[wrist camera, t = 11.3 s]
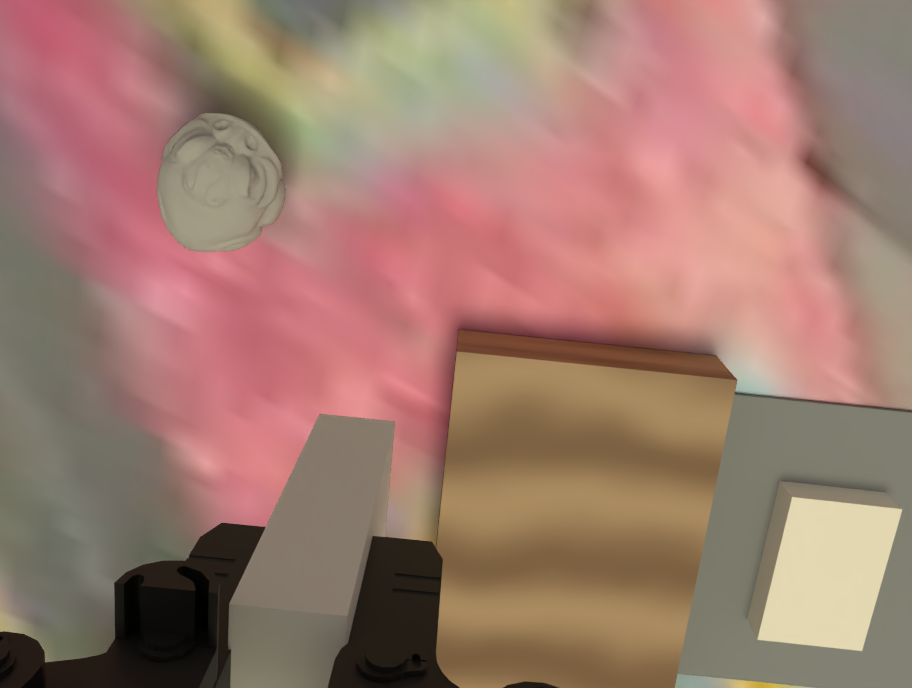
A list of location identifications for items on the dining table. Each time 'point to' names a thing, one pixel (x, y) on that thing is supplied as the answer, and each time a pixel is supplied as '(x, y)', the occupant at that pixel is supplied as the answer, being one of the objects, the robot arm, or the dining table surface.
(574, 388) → the brown wooden block
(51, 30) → the dining table surface
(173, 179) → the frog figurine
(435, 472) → the dining table surface
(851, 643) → the cream rectangular block
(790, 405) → the mat
